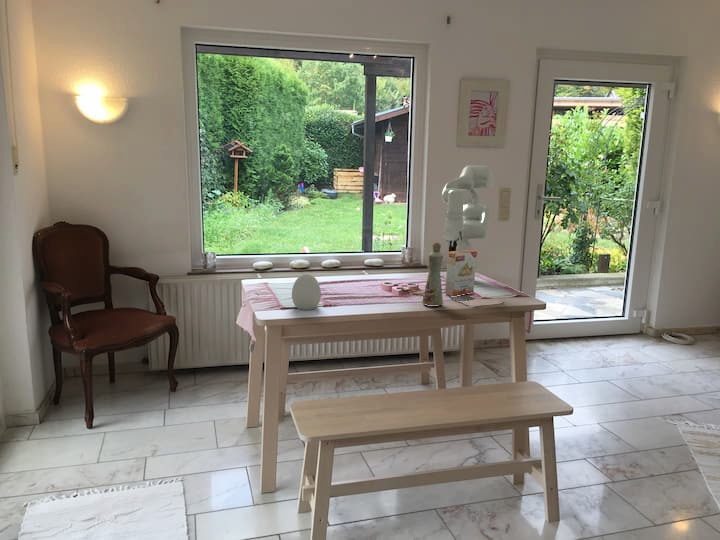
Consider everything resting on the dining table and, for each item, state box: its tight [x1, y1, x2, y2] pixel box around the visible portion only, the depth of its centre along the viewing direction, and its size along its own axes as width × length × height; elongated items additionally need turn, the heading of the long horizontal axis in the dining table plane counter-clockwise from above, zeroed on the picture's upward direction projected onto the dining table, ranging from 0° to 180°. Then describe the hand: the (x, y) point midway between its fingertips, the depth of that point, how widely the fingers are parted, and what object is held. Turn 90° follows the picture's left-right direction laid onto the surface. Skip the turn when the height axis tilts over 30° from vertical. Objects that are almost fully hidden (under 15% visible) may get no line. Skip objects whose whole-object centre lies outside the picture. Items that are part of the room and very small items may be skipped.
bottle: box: [421, 242, 444, 306], centre depth 260 cm, size 9×9×28 cm
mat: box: [449, 295, 475, 301], centre depth 272 cm, size 16×18×1 cm
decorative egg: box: [291, 272, 322, 311], centre depth 252 cm, size 12×12×15 cm
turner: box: [410, 288, 425, 297], centre depth 283 cm, size 16×5×1 cm, turn 48°
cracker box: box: [444, 250, 478, 297], centre depth 281 cm, size 14×6×21 cm, turn 126°
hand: (452, 254), depth 285 cm, fingers closed
